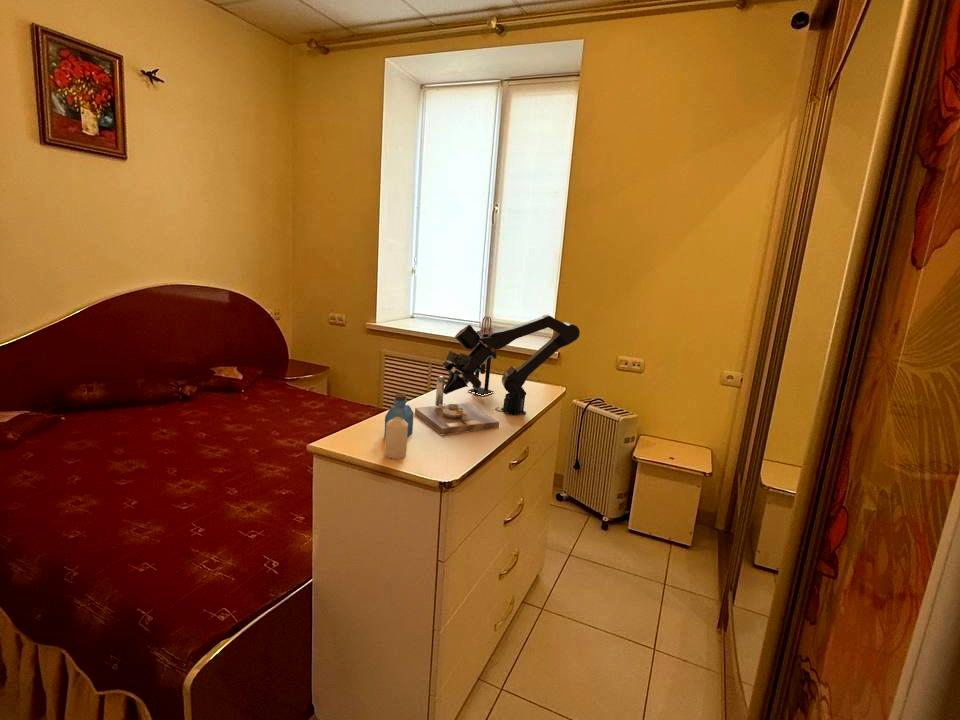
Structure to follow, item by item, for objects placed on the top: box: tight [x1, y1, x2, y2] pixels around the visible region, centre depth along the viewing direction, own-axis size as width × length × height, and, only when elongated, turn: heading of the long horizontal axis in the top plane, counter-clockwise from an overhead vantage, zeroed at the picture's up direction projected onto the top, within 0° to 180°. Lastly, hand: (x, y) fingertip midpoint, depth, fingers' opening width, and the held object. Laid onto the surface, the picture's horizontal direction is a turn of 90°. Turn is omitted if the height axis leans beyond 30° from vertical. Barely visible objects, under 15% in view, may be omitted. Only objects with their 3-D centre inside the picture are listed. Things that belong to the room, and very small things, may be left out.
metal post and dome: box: [434, 375, 467, 418], centre depth 156 cm, size 6×18×10 cm, turn 33°
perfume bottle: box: [383, 393, 415, 439], centre depth 141 cm, size 6×6×12 cm
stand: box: [414, 402, 500, 436], centre depth 159 cm, size 20×20×2 cm
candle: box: [384, 417, 408, 460], centre depth 128 cm, size 6×6×10 cm
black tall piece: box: [467, 315, 495, 395], centre depth 190 cm, size 10×8×30 cm
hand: (444, 393), depth 163 cm, fingers closed
